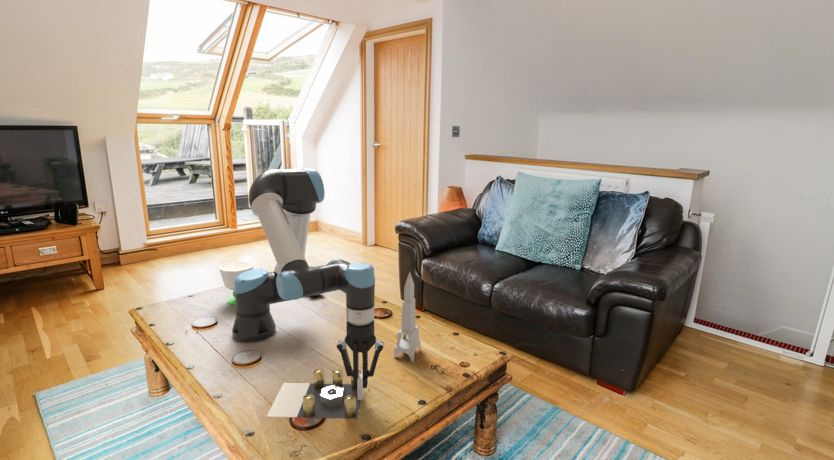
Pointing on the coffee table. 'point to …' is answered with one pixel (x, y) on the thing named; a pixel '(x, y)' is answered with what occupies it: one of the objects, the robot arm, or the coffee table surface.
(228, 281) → the cup
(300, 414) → the mat
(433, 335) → the coffee table surface
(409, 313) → the sculpture
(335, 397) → the nut
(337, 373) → the spacers
